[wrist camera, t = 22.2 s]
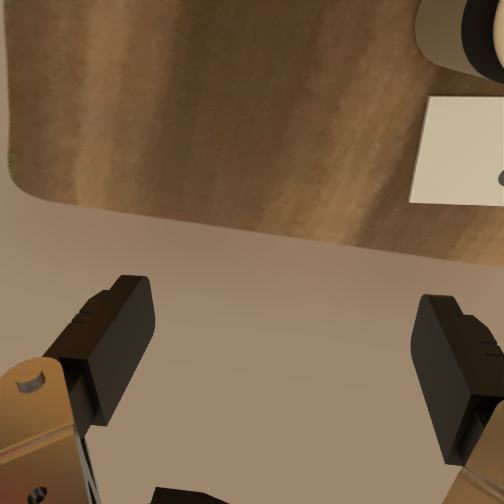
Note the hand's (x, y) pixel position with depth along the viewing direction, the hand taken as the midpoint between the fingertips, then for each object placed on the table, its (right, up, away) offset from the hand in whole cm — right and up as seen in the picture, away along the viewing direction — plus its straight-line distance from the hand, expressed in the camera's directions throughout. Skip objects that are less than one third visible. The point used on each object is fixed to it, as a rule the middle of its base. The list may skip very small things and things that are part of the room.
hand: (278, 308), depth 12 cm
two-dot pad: (+22, +12, +29) cm, 39 cm away
